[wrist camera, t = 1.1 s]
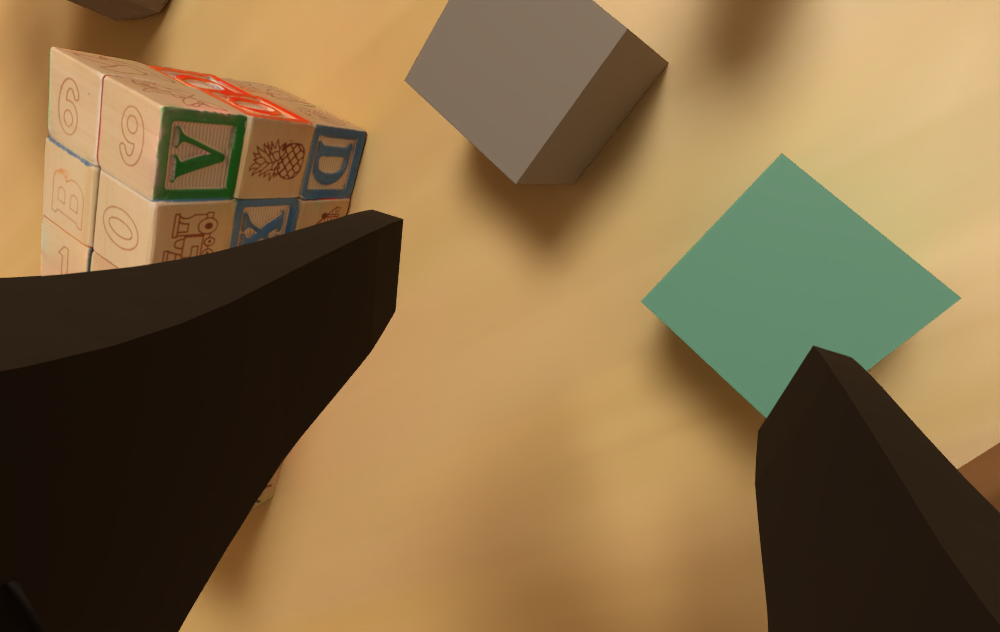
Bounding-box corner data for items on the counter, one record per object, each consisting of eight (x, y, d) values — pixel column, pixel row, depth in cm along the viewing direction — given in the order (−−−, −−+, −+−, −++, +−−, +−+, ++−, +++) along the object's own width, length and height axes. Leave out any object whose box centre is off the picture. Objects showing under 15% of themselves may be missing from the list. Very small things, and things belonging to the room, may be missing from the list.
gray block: (668, 63, 19) (627, 28, 15) (575, 184, 22) (515, 184, 17) (561, -25, 20) (493, -80, 16) (482, 100, 23) (404, 80, 18)
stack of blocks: (272, 81, 27) (-71, 17, 17) (372, 130, 25) (52, 91, 15) (204, 441, 35) (-59, 551, 25) (275, 500, 33) (23, 648, 23)
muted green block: (924, 269, 17) (961, 298, 13) (790, 379, 20) (783, 434, 15) (789, 160, 18) (781, 152, 14) (677, 276, 21) (640, 301, 16)
